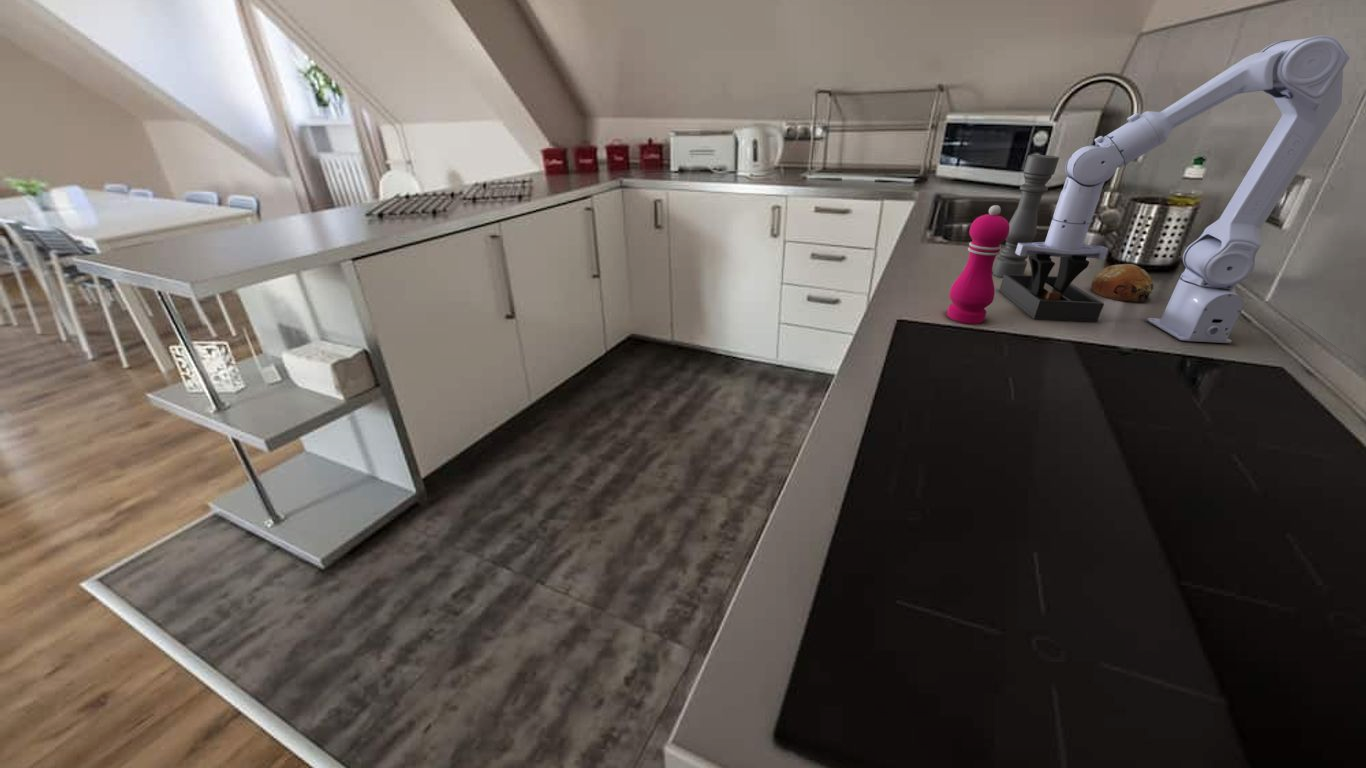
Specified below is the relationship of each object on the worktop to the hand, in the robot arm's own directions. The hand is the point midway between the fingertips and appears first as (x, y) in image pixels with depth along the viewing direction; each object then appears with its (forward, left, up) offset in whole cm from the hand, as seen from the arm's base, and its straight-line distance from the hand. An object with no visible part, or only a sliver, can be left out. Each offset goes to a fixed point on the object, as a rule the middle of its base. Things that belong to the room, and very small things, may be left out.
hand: (1045, 295), depth 104 cm
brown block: (+4, 0, -3) cm, 5 cm away
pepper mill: (-5, +15, -4) cm, 17 cm away
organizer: (+4, -3, -3) cm, 6 cm away
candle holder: (+24, -4, -4) cm, 25 cm away
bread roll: (+13, -22, -4) cm, 25 cm away
